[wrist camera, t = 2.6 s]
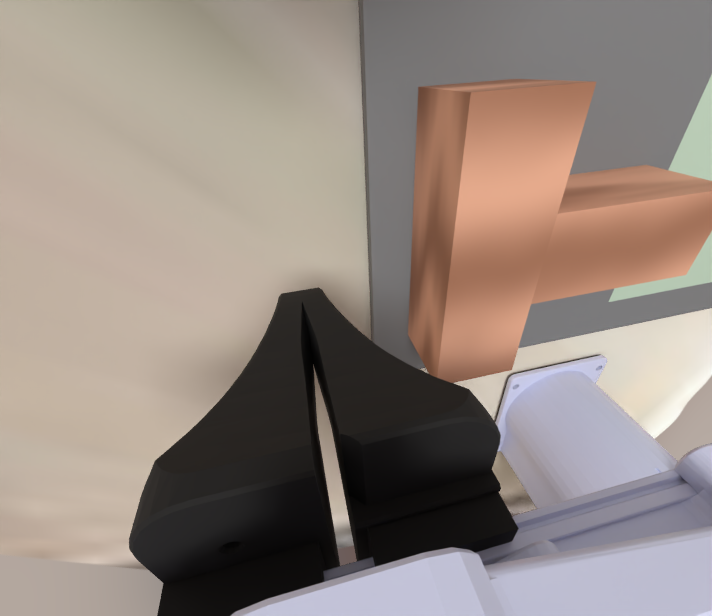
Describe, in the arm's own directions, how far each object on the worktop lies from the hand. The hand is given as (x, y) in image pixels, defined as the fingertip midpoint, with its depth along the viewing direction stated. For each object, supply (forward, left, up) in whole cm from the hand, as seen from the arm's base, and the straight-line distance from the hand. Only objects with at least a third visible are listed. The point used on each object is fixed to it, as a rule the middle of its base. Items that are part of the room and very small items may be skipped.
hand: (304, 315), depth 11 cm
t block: (0, -12, -5) cm, 13 cm away
